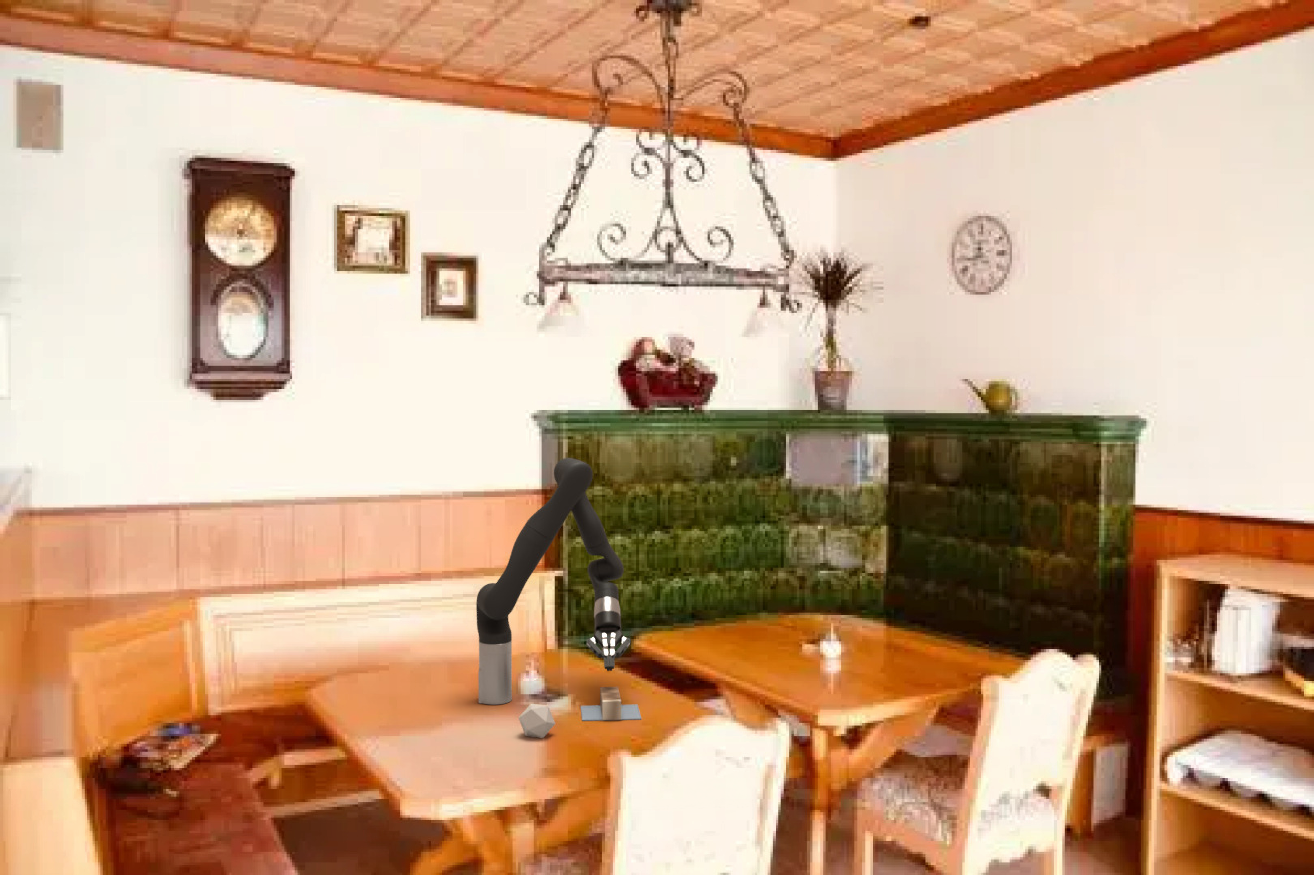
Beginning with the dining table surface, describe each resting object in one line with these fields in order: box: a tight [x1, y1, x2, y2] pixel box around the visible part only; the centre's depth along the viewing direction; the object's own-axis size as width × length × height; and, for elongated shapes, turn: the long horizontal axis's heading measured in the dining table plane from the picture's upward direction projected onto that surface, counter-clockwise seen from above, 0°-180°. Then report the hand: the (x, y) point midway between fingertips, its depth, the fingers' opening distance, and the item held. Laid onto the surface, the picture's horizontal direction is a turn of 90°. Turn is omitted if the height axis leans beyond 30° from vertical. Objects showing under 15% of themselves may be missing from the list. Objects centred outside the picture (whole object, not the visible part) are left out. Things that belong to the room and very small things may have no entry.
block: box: [599, 686, 622, 721], centre depth 313 cm, size 5×5×14 cm
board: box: [580, 703, 642, 722], centre depth 313 cm, size 16×13×1 cm
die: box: [518, 703, 556, 739], centre depth 294 cm, size 8×9×10 cm
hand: (609, 669), depth 317 cm, fingers closed
